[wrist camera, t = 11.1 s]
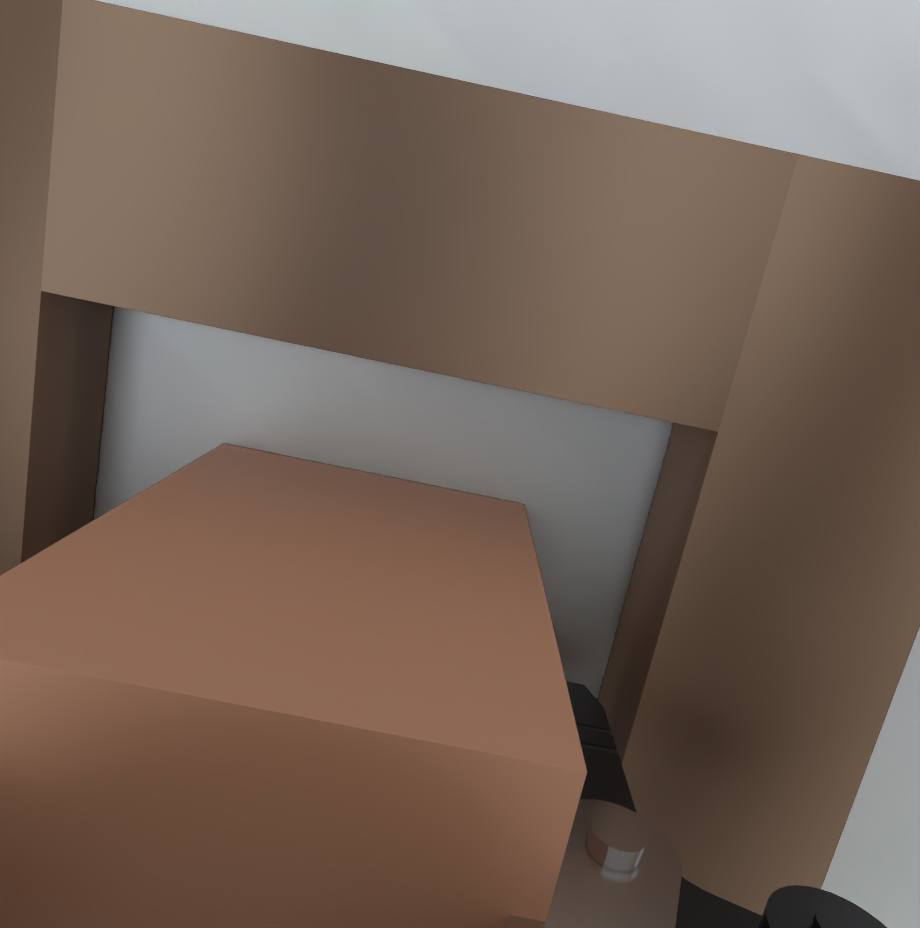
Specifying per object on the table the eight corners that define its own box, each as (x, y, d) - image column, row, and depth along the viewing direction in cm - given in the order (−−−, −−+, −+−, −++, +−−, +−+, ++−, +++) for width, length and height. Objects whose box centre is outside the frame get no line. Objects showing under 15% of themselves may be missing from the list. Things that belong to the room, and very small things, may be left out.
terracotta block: (524, 504, 12) (587, 771, 5) (463, 767, 13) (450, 1267, 6) (223, 443, 12) (-106, 638, 5) (186, 714, 13) (-124, 1166, 6)
